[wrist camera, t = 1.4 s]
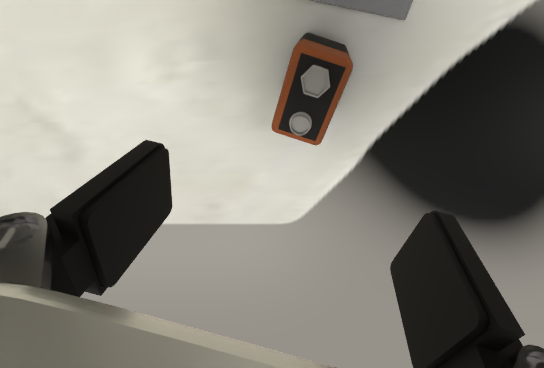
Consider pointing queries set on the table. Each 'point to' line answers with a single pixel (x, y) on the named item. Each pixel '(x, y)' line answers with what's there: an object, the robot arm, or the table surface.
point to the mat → (375, 6)
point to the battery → (312, 88)
